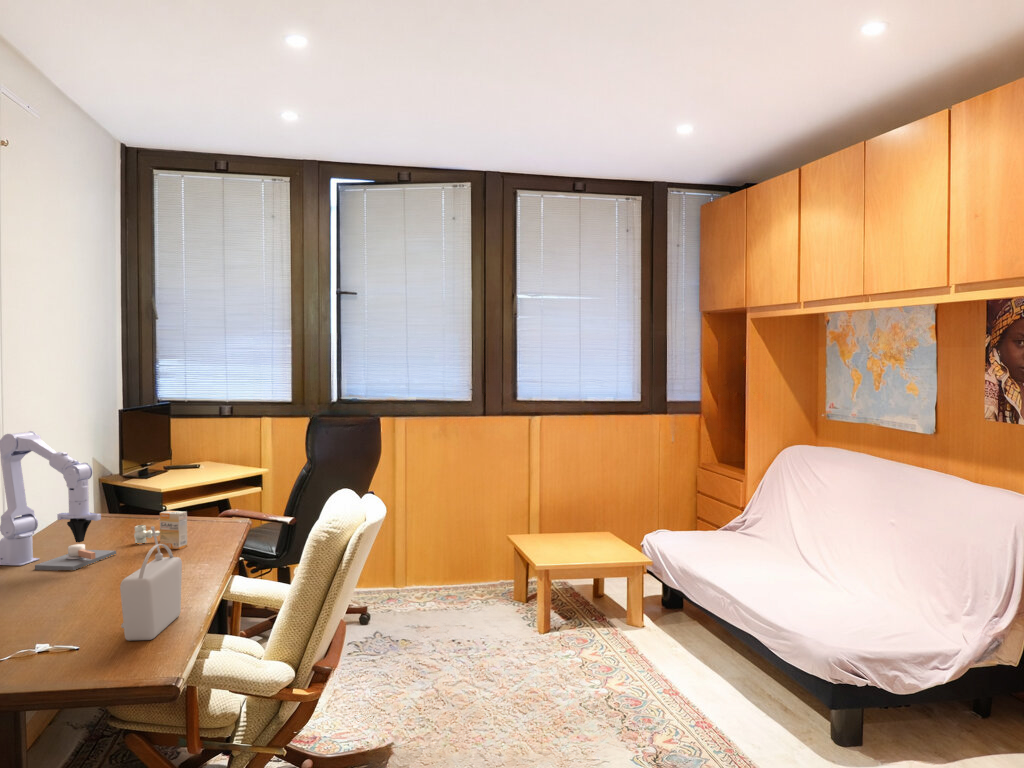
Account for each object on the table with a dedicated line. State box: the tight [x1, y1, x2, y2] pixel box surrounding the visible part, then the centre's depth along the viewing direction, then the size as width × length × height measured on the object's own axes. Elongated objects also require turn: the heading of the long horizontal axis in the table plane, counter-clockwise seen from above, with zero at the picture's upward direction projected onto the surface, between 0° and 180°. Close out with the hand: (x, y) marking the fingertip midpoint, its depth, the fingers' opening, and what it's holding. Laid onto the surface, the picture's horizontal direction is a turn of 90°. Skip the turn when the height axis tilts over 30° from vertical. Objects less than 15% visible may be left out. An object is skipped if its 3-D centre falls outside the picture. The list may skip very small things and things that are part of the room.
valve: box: [133, 524, 160, 544], centre depth 273 cm, size 7×7×12 cm
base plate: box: [34, 549, 117, 571], centre depth 247 cm, size 14×20×2 cm
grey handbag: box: [119, 525, 183, 642], centre depth 183 cm, size 22×8×25 cm, turn 4°
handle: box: [67, 543, 95, 559], centre depth 244 cm, size 13×5×3 cm, turn 57°
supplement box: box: [159, 510, 188, 550], centre depth 265 cm, size 8×5×13 cm, turn 76°
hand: (79, 541), depth 241 cm, fingers closed
